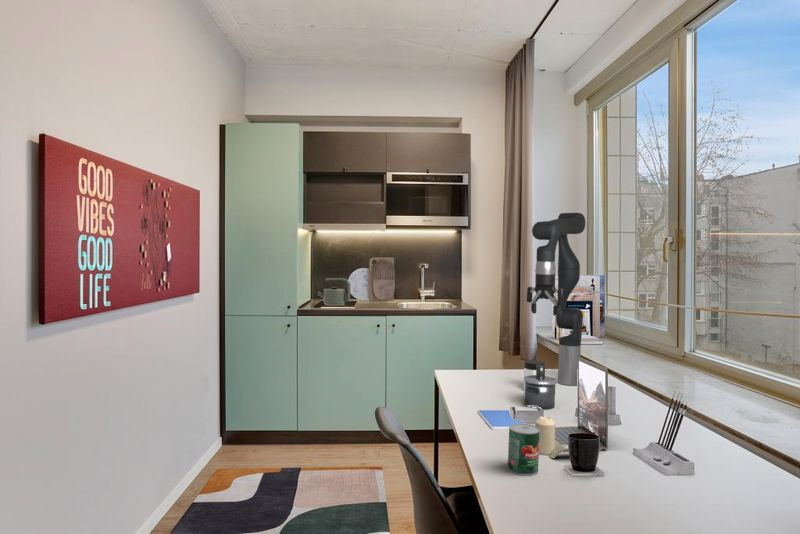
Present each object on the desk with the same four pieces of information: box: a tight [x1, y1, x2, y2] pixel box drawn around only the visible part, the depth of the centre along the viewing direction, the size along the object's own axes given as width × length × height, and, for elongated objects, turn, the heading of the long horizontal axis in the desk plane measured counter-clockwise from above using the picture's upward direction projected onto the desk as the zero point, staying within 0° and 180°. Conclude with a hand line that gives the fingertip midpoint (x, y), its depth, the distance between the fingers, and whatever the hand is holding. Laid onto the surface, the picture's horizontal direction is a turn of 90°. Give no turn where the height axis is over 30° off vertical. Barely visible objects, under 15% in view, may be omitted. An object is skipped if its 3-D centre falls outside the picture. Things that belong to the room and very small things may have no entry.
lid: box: [523, 365, 558, 386], centre depth 202 cm, size 12×12×6 cm
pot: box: [524, 382, 556, 411], centre depth 202 cm, size 15×11×9 cm
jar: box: [523, 359, 546, 392], centre depth 224 cm, size 9×8×12 cm
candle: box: [534, 416, 556, 456], centre depth 155 cm, size 6×6×10 cm
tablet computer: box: [477, 409, 525, 430], centre depth 184 cm, size 19×13×1 cm, turn 6°
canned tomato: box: [507, 423, 540, 477], centre depth 142 cm, size 8×8×11 cm
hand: (544, 314), depth 211 cm, fingers open, 8 cm apart
